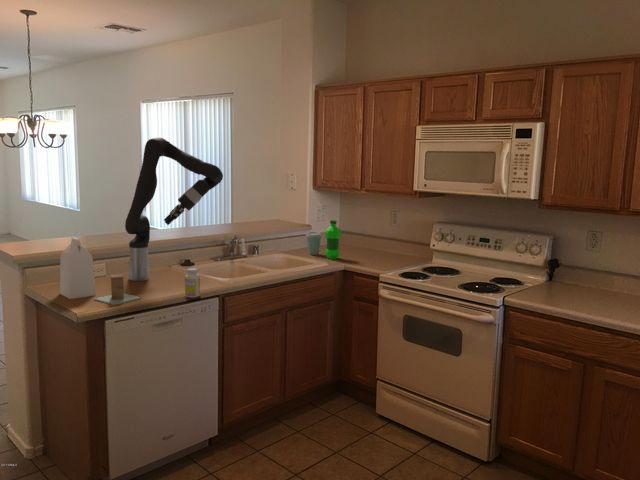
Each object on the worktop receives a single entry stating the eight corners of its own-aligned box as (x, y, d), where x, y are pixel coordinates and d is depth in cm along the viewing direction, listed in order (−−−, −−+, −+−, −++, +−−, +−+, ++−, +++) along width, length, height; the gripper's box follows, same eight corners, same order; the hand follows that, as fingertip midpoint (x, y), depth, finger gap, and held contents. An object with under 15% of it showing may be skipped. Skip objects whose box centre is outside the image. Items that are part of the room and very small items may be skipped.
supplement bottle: (193, 293, 254) (193, 267, 252) (202, 296, 249) (202, 269, 247) (182, 296, 248) (181, 269, 246) (191, 298, 244) (190, 271, 242)
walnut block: (112, 296, 241) (111, 275, 240) (123, 296, 243) (123, 274, 241) (111, 299, 237) (111, 277, 235) (123, 299, 238) (123, 277, 237)
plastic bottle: (321, 258, 353) (322, 220, 349) (331, 256, 361) (332, 219, 357) (333, 260, 346) (334, 222, 342) (343, 258, 354) (344, 220, 350)
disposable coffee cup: (323, 255, 365) (324, 233, 362) (310, 256, 359) (310, 234, 357) (316, 252, 374) (316, 231, 371) (302, 253, 368) (303, 232, 366)
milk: (60, 293, 247) (57, 237, 243) (85, 290, 255) (83, 235, 251) (69, 299, 238) (67, 241, 234) (95, 295, 246) (93, 239, 242)
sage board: (94, 299, 238) (94, 298, 238) (121, 293, 249) (121, 292, 249) (113, 305, 230) (113, 303, 230) (140, 298, 242) (140, 297, 242)
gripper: (183, 192, 263) (159, 215, 260) (185, 194, 249) (160, 218, 247) (194, 202, 265) (170, 226, 263) (197, 205, 252) (172, 230, 250)
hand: (165, 222), depth 255 cm, fingers open, 8 cm apart
